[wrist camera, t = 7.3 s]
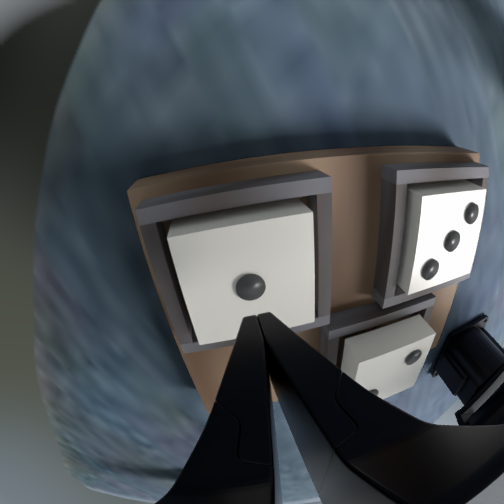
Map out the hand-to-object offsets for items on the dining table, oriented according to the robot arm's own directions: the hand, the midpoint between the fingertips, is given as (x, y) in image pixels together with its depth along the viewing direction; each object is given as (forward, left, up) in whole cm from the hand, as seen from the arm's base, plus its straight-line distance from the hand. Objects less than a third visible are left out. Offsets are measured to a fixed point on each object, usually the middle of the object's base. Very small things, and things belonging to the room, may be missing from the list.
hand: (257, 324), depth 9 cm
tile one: (0, 0, -4) cm, 4 cm away
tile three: (-10, 0, -4) cm, 11 cm away
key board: (-5, +4, -6) cm, 9 cm away
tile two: (-7, +8, -3) cm, 11 cm away
